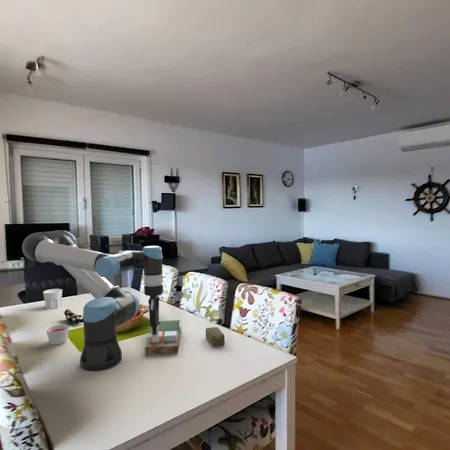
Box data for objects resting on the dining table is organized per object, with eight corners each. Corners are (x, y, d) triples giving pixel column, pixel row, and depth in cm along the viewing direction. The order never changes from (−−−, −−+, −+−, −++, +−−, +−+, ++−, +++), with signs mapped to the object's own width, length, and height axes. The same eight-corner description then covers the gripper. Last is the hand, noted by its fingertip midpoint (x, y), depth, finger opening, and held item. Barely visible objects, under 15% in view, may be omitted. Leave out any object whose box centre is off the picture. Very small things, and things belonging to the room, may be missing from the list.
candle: (43, 342, 145) (43, 328, 144) (64, 336, 151) (64, 323, 151) (51, 348, 138) (50, 333, 138) (73, 341, 145) (72, 327, 145)
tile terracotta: (149, 342, 136) (149, 336, 136) (151, 337, 141) (151, 331, 141) (161, 341, 136) (161, 335, 136) (163, 336, 141) (162, 331, 141)
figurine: (72, 321, 162) (58, 309, 171) (71, 331, 163) (58, 320, 172) (87, 317, 168) (73, 306, 177) (86, 327, 169) (73, 316, 178)
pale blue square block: (164, 341, 136) (164, 335, 136) (165, 336, 141) (165, 331, 141) (176, 340, 137) (176, 335, 137) (177, 336, 142) (176, 330, 142)
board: (145, 354, 131) (145, 347, 131) (150, 340, 145) (150, 333, 145) (178, 353, 132) (177, 345, 132) (180, 339, 146) (179, 332, 146)
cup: (51, 304, 202) (50, 288, 202) (66, 305, 201) (65, 289, 200) (40, 309, 192) (39, 292, 192) (55, 310, 191) (55, 293, 190)
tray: (150, 340, 145) (149, 327, 145) (152, 332, 154) (152, 320, 154) (180, 338, 147) (180, 326, 146) (181, 331, 156) (181, 319, 155)
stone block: (212, 348, 137) (212, 336, 136) (205, 338, 148) (204, 327, 147) (225, 346, 139) (225, 334, 138) (217, 336, 149) (217, 325, 149)
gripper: (160, 287, 126) (162, 347, 128) (164, 280, 139) (166, 334, 141) (141, 288, 126) (143, 348, 127) (147, 281, 139) (148, 335, 140)
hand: (155, 341), depth 134 cm, fingers closed
